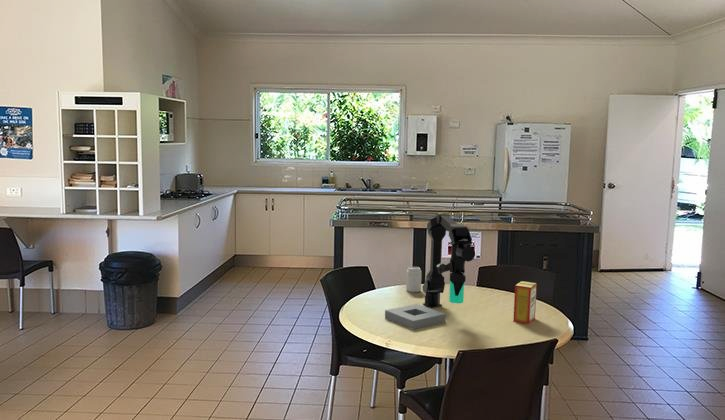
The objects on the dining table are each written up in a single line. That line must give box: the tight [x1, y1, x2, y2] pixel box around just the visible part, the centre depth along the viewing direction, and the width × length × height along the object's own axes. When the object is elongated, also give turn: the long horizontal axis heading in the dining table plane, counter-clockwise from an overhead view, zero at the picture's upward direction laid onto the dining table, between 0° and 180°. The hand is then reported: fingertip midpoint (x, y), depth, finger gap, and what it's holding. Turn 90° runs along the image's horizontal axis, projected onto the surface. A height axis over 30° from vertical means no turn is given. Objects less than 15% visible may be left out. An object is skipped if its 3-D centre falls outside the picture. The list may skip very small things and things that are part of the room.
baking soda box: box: [513, 280, 538, 325], centre depth 250 cm, size 10×6×16 cm
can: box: [405, 266, 422, 293], centre depth 296 cm, size 8×8×12 cm
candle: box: [448, 280, 465, 305], centre depth 242 cm, size 6×6×12 cm
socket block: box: [384, 303, 447, 330], centre depth 247 cm, size 18×18×4 cm
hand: (456, 293), depth 243 cm, fingers closed on candle, 7 cm apart
